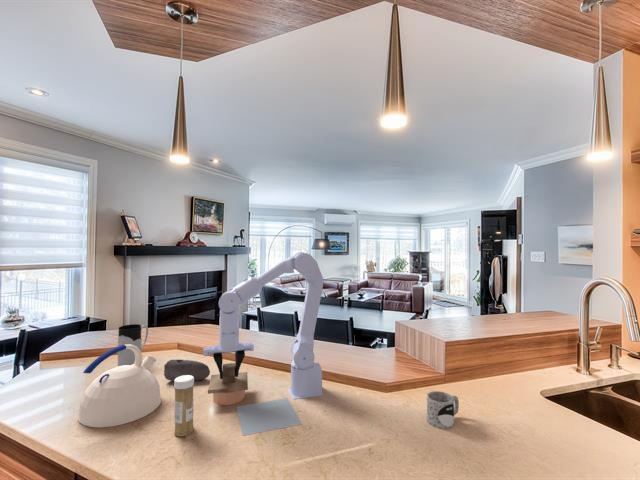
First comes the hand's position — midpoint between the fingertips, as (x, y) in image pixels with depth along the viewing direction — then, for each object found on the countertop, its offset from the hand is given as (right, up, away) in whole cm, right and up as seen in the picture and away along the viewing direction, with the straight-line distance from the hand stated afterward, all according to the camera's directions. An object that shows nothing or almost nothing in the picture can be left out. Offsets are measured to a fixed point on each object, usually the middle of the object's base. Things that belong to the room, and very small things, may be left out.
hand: (229, 376), depth 99 cm
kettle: (-29, -7, -5) cm, 30 cm away
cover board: (0, -2, 0) cm, 2 cm away
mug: (+61, -7, -12) cm, 62 cm away
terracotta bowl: (0, -7, 0) cm, 7 cm away
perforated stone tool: (-18, -7, +14) cm, 24 cm away
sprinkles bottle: (-6, -7, -17) cm, 20 cm away
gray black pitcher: (-45, -7, +29) cm, 54 cm away
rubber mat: (+13, -7, -10) cm, 18 cm away
